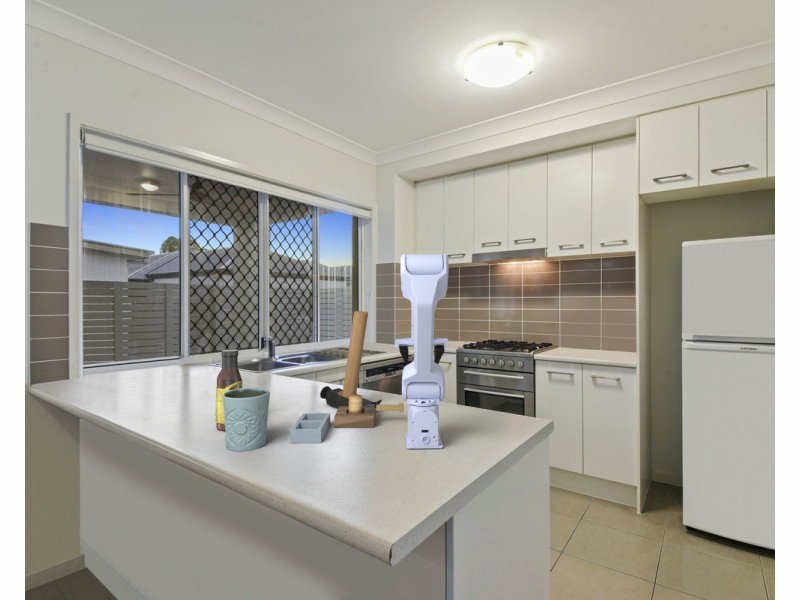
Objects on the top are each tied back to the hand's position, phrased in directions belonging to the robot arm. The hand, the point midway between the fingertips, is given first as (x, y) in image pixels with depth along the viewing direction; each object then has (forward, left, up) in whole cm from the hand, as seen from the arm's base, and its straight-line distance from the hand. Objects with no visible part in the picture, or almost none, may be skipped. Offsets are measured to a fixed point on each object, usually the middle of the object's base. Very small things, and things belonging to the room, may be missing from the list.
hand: (421, 371), depth 116 cm
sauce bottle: (-9, +50, -13) cm, 52 cm away
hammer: (+9, +21, -13) cm, 26 cm away
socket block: (-5, +18, -13) cm, 22 cm away
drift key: (-5, +9, -10) cm, 14 cm away
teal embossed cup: (-22, +41, -13) cm, 48 cm away
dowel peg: (-5, +18, -13) cm, 22 cm away
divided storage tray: (-14, +28, -13) cm, 34 cm away
